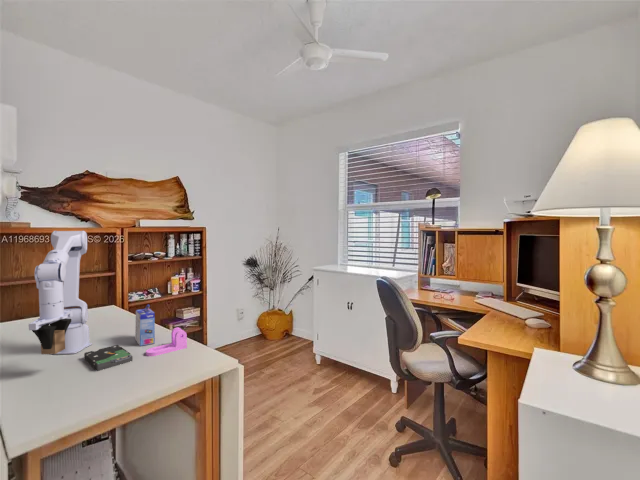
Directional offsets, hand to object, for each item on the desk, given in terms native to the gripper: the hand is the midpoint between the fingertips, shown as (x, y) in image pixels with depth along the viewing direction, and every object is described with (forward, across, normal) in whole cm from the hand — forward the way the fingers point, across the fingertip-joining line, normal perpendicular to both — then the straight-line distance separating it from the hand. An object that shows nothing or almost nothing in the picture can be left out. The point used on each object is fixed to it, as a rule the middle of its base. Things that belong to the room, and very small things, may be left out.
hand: (53, 346), depth 96 cm
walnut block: (+2, 0, 0) cm, 2 cm away
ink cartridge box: (+9, +26, -15) cm, 31 cm away
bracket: (+9, +16, -27) cm, 33 cm away
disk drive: (+9, +9, -11) cm, 17 cm away
